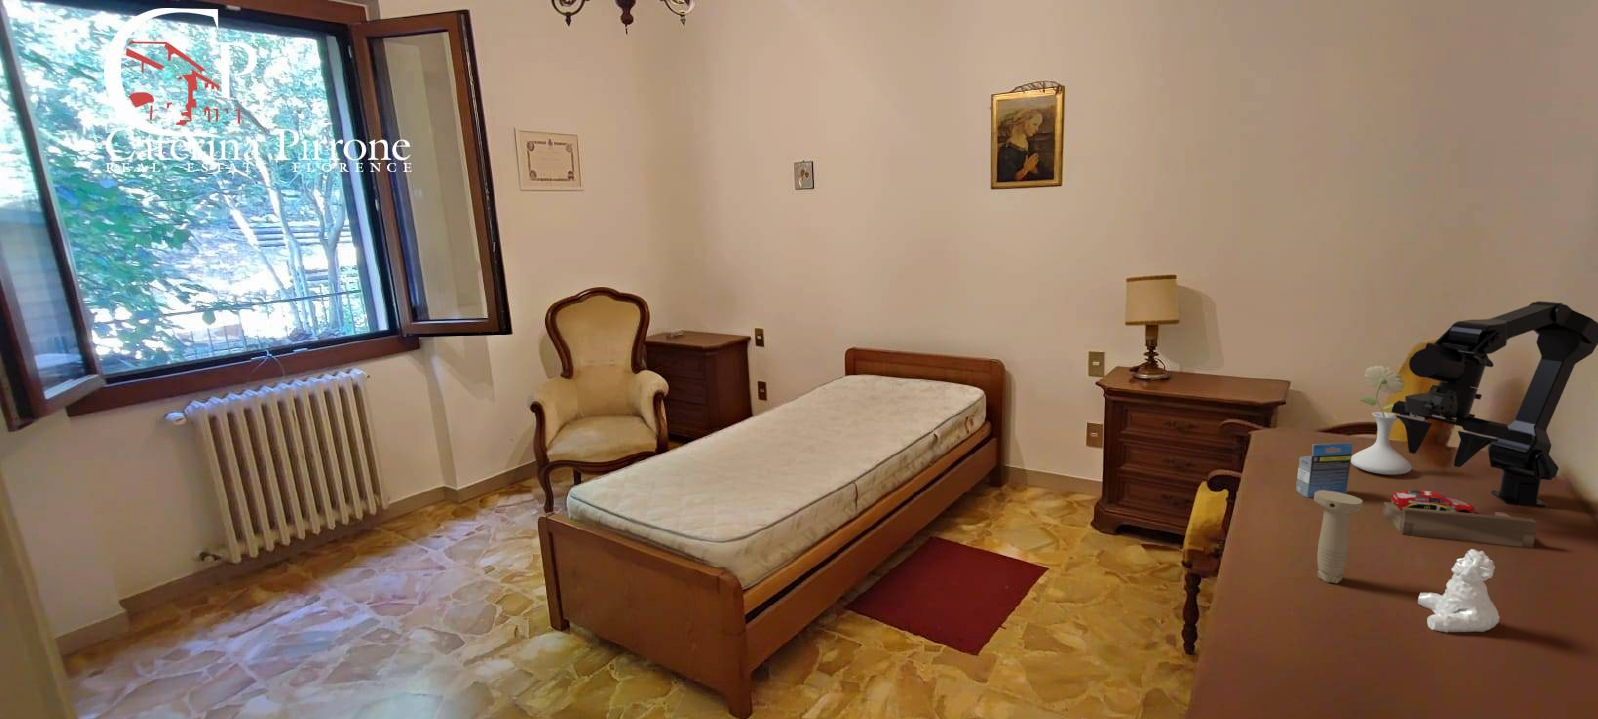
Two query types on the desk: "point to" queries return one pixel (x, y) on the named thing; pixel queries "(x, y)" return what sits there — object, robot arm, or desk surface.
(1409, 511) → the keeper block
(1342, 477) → the label tape box
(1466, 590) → the seated beast figurine
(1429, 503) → the race car
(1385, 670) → the desk surface
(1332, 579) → the handle
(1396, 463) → the flower in vase
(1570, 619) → the desk surface
